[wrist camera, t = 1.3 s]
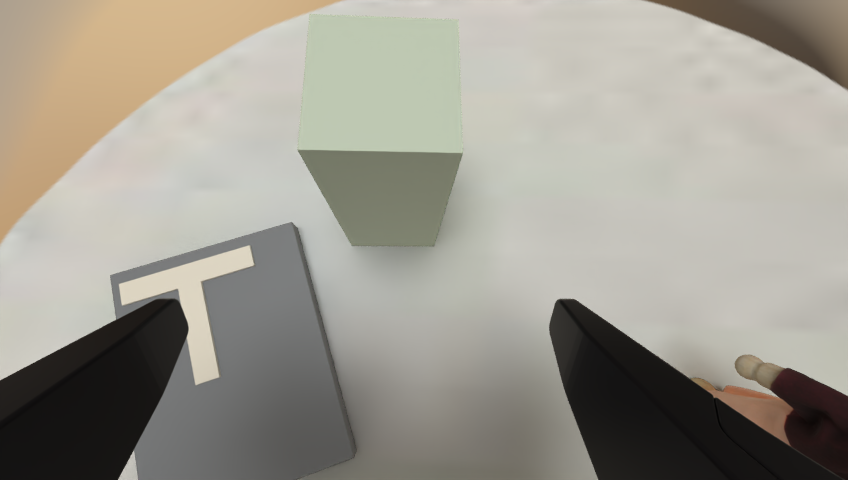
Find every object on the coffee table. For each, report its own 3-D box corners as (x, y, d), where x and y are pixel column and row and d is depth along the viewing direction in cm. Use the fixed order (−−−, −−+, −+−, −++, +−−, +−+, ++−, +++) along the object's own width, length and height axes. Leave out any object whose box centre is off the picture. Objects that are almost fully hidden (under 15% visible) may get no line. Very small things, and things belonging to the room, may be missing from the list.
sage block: (433, 246, 23) (463, 152, 12) (351, 245, 23) (297, 149, 11) (432, 171, 24) (458, 19, 13) (355, 170, 24) (309, 14, 13)
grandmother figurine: (775, 442, 21) (1284, 584, 9) (735, 493, 20) (1232, 726, 8) (671, 335, 22) (994, 331, 10) (630, 380, 22) (923, 433, 9)
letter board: (356, 451, 20) (353, 458, 19) (162, 524, 19) (143, 538, 17) (297, 227, 23) (290, 220, 22) (125, 278, 22) (107, 274, 20)
